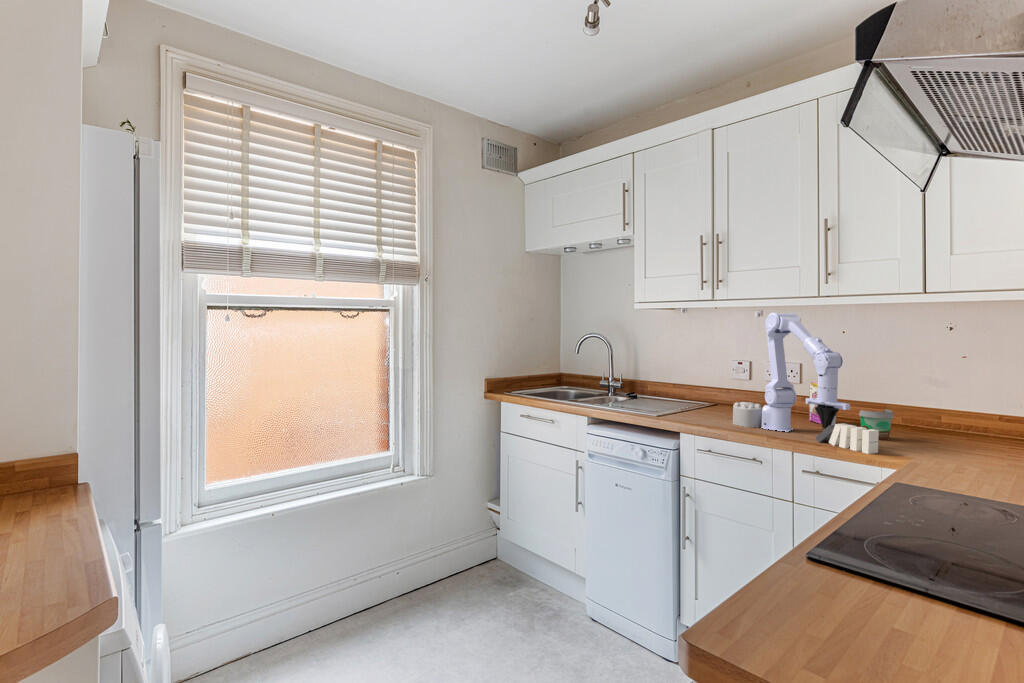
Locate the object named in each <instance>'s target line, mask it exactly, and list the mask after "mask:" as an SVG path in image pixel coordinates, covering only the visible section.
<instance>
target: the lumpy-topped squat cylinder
mask: <svg viewBox="0 0 1024 683" xmlns="http://www.w3.org/2000/svg"><path fill="white" fill-rule="evenodd" d="M732 406H733V407H732V408H733V409H732V424H733V425H734V424H735V425H734V426H737V425H739V426H738V427H741V426H744V427H743V428H747V427H756V428H759V427H758V426H761V425H762V409H763V407H762V405H761V404H760V403H755V402H747V401H740V402H738V401H737V402H735V403H733V405H732ZM761 427H762V426H761Z"/></svg>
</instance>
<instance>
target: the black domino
mask: <svg viewBox="0 0 1024 683" xmlns="http://www.w3.org/2000/svg"><path fill="white" fill-rule="evenodd" d="M834 427H835V425H829V426H828V427H827V428H826V429H825V428H823V430H822V431H821V432H820V433H819V434H818V435H816V436H815V439H816V440H817V442H818V443H826V442H825V441H828V442H829V440H830V438H831V435H832V432H833V429H834Z"/></svg>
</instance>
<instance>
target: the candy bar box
mask: <svg viewBox="0 0 1024 683" xmlns="http://www.w3.org/2000/svg"><path fill="white" fill-rule="evenodd" d="M817 389H818V381H810V382H809V398H813V399H817ZM824 405H827V404H824ZM808 406H809V410H808V413H809V414H808V421H809V422H812V421H813V423H814V422H816V423H815V424H817V423H819V424H818V425H820V424H821V420H820V417H819V415H818V413H817V411H816V410H815V407H817V406H818V405H813V404H808ZM830 406H831V405H830ZM835 424H837V414H836V415H835V417H834V419H833V421H832V424H831V425H835Z"/></svg>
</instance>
